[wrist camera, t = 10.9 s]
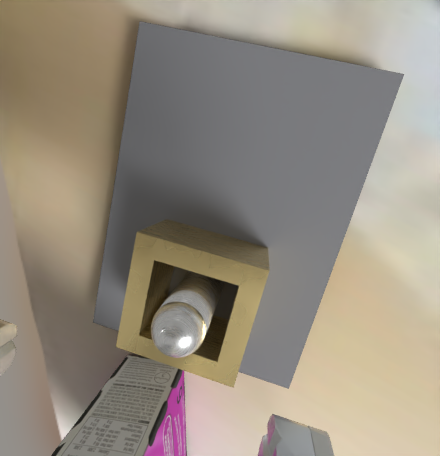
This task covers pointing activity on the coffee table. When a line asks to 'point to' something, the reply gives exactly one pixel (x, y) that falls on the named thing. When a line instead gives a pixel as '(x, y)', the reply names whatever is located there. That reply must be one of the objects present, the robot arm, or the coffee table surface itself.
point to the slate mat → (245, 170)
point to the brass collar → (203, 264)
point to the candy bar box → (133, 414)
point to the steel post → (186, 315)
